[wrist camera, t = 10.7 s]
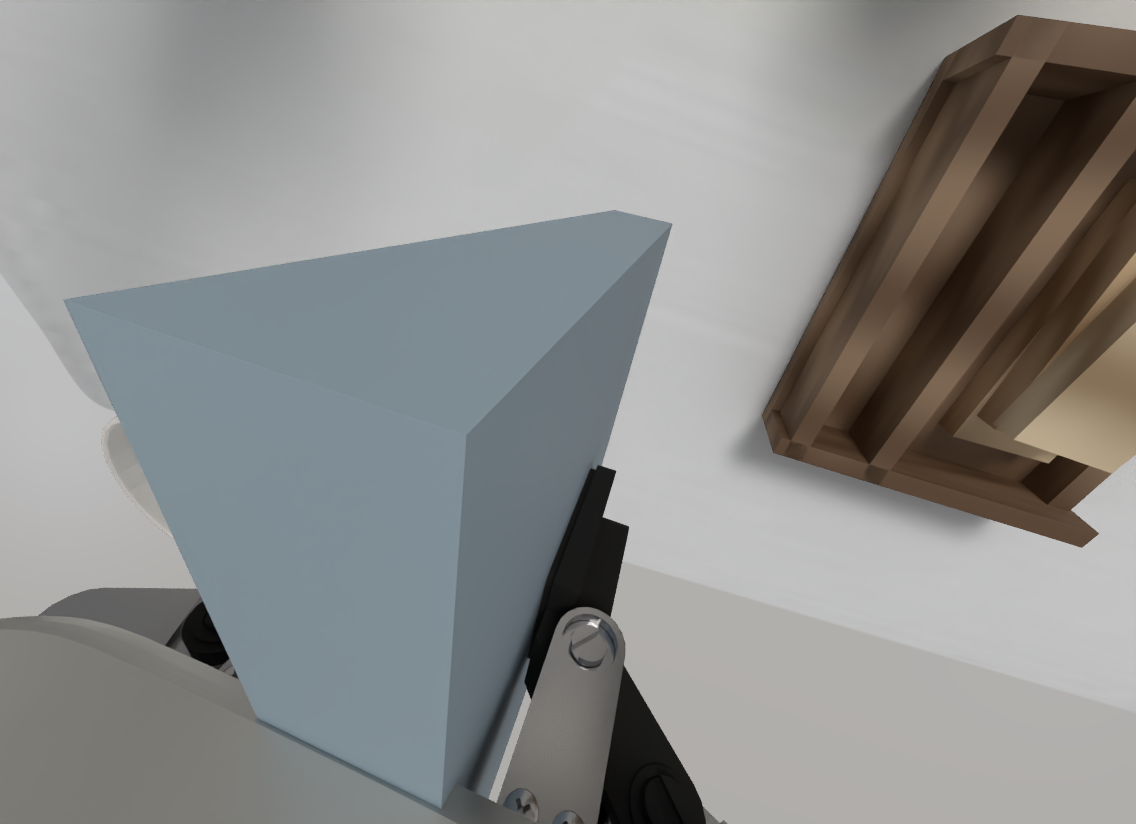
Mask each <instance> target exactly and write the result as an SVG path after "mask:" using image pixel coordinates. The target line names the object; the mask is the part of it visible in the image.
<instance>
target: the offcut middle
mask: <svg viewBox="0 0 1136 824" xmlns="http://www.w3.org/2000/svg"><path fill="white" fill-rule="evenodd" d="M1135 278H1136V203H1135V205H1134V206H1133V207H1132V209H1131V210H1130V211H1129V213H1128V214H1127V215H1126V217H1125V218H1124V219H1123V221H1122V222H1121V223H1120V225H1119V226H1118V227H1117V229H1116V230H1115V231H1114V233H1113V234H1112V235H1111V237H1110V238H1109V239H1108V241H1107V242H1106V243H1105V245H1104V246H1103V247H1102V249H1101V250H1100V251H1099V253H1098V254H1097V255H1096V257H1095V258H1094V259H1093V261H1092V262H1091V263H1090V265H1089V266H1088V267H1087V269H1086V270H1085V271H1084V273H1083V274H1082V275H1081V277H1080V278H1079V279H1078V281H1077V282H1076V283H1075V285H1074V286H1073V287H1072V289H1071V290H1070V291H1069V293H1068V294H1067V295H1066V297H1065V298H1064V299H1063V301H1062V302H1061V303H1060V305H1059V306H1058V307H1057V309H1056V310H1055V311H1054V313H1053V314H1052V315H1051V317H1050V318H1049V319H1048V321H1047V322H1046V324H1045V325H1044V326H1043V328H1042V329H1041V330H1040V332H1039V333H1038V334H1037V336H1036V337H1035V338H1034V340H1033V341H1032V342H1031V344H1030V345H1029V346H1028V348H1027V349H1026V350H1025V352H1024V353H1023V354H1022V356H1021V357H1020V358H1019V360H1018V361H1017V362H1016V364H1015V365H1014V366H1013V368H1012V369H1011V370H1010V372H1009V373H1008V374H1007V376H1006V377H1005V378H1004V380H1003V381H1002V382H1001V384H1000V385H999V386H998V388H997V389H996V390H995V392H994V393H993V394H992V396H991V397H990V398H989V400H988V401H987V402H986V404H985V405H984V406H983V408H982V409H981V410H980V412H979V413H978V414H977V416H978V417H979V418H980V419H982V420H983V421H984V422H986V423H987V424H988V425H989V426H991V427H992V428H993V429H995V430H998V431H1002V430H1000V429H999V428H998V427H996V426H995V425H994V424H992V423H993V422H994V421H995V420H996V419H997V418H998V417H999V416H1000V415H1001V414H1002V413H1003V412H1004V411H1005V410H1006V409H1007V408H1008V407H1009V406H1010V405H1011V404H1012V403H1013V402H1014V401H1015V400H1016V399H1017V398H1018V397H1019V396H1020V395H1021V394H1022V393H1023V392H1024V391H1025V390H1026V389H1027V388H1028V387H1029V386H1030V385H1031V384H1032V383H1033V382H1034V381H1035V380H1036V379H1037V378H1038V377H1039V376H1040V375H1041V374H1042V373H1043V372H1044V370H1045V369H1046V368H1047V367H1048V366H1049V365H1050V364H1051V363H1052V362H1053V361H1054V360H1055V359H1056V358H1057V357H1058V356H1059V355H1060V354H1061V353H1062V352H1063V351H1064V350H1065V349H1066V348H1067V347H1068V346H1069V345H1070V344H1071V343H1072V342H1073V341H1074V340H1075V339H1076V338H1077V337H1078V336H1079V335H1080V334H1081V333H1082V332H1083V331H1084V330H1085V329H1086V328H1087V327H1088V326H1089V325H1090V324H1091V323H1092V322H1093V321H1094V320H1095V319H1096V318H1097V317H1098V315H1099V314H1100V313H1101V312H1102V311H1103V310H1104V309H1105V308H1106V307H1107V306H1108V305H1109V304H1110V303H1111V302H1112V301H1113V300H1114V299H1115V298H1116V297H1117V296H1118V295H1119V294H1120V293H1121V292H1122V291H1123V290H1124V289H1125V288H1126V287H1127V286H1128V285H1129V284H1130V283H1131V282H1132V281H1133V280H1134V279H1135ZM1002 432H1003V431H1002Z"/></svg>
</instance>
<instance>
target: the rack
mask: <svg viewBox="0 0 1136 824" xmlns="http://www.w3.org/2000/svg"><path fill="white" fill-rule="evenodd" d="M1129 178H1136V31H1133V30H1126V29H1118V28H1111V27H1104V26H1096V25H1089V24H1082V23H1074V22H1067V21H1059V20H1052V19H1045V18H1037V17H1030V16H1022V15H1017V16H1015V17H1013V18H1012V19H1010V20H1008V21H1007V22H1005V23H1003V24H1001V25H1000V26H998V27H996V28H995V29H993V30H991V31H989V32H988V33H986V34H984V35H983V36H981V37H979V38H977V39H976V40H974V41H972V42H971V43H969V44H967V45H965V46H964V47H962V48H960V49H959V50H957V51H955V52H953V53H952V54H950V55H948V56H947V57H945V59H944V61H943V63H942V65H941V67H940V69H939V71H938V73H937V75H936V77H935V79H934V81H933V83H932V85H931V87H930V89H929V91H928V93H927V95H926V96H925V98H924V100H923V102H922V104H921V106H920V108H919V110H918V112H917V114H916V116H915V118H914V120H913V122H912V124H911V126H910V128H909V130H908V132H907V134H906V136H905V138H904V139H903V141H902V143H901V145H900V147H899V149H898V151H897V153H896V155H895V157H894V159H893V161H892V163H891V165H890V167H889V169H888V171H887V173H886V175H885V177H884V179H883V181H882V182H881V184H880V186H879V188H878V190H877V192H876V194H875V196H874V198H873V200H872V202H871V204H870V206H869V208H868V210H867V212H866V214H865V216H864V218H863V220H862V222H861V224H860V225H859V227H858V229H857V231H856V233H855V235H854V237H853V239H852V241H851V243H850V245H849V247H848V249H847V251H846V253H845V255H844V257H843V259H842V261H841V263H840V265H839V267H838V268H837V270H836V272H835V274H834V276H833V278H832V280H831V282H830V284H829V286H828V288H827V290H826V292H825V294H824V296H823V298H822V300H821V302H820V304H819V306H818V308H817V310H816V311H815V313H814V315H813V317H812V319H811V321H810V323H809V325H808V327H807V329H806V331H805V333H804V335H803V337H802V339H801V341H800V343H799V345H798V347H797V349H796V351H795V353H794V354H793V356H792V358H791V360H790V362H789V364H788V366H787V368H786V370H785V372H784V374H783V376H782V378H781V380H780V382H779V384H778V386H777V388H776V390H775V392H774V394H773V396H772V397H771V399H770V401H769V403H768V405H767V407H766V409H765V411H764V413H763V415H762V417H763V420H764V423H765V427H766V430H767V434H768V437H769V440H770V444H771V447H772V450H773V453H776V454H779V455H782V456H786V457H789V458H792V459H795V460H799V461H802V462H805V463H808V464H812V465H815V466H818V467H821V468H825V469H828V470H831V471H834V472H838V473H841V474H844V475H847V476H851V477H854V478H857V479H860V480H864V481H867V482H870V483H873V484H877V485H880V486H883V487H886V488H890V489H893V490H896V491H899V492H903V493H906V494H909V495H912V496H916V497H919V498H922V499H925V500H929V501H932V502H935V503H938V504H942V505H945V506H948V507H952V508H955V509H958V510H961V511H965V512H968V513H971V514H974V515H978V516H981V517H984V518H987V519H991V520H994V521H997V522H1000V523H1004V524H1007V525H1010V526H1013V527H1017V528H1020V529H1023V530H1026V531H1030V532H1033V533H1036V534H1039V535H1043V536H1046V537H1049V538H1052V539H1056V540H1059V541H1062V542H1065V543H1069V544H1072V545H1075V546H1078V547H1083V546H1085V545H1086V544H1087V543H1088V542H1089V541H1091V540H1092V539H1093V538H1094V537H1096V536H1097V535H1098V534H1099V533H1098V532H1097V531H1095V530H1094V529H1093V528H1092V527H1091V526H1089V525H1088V524H1087V523H1086V522H1085V521H1083V520H1082V519H1081V518H1080V517H1079V516H1077V515H1076V514H1075V513H1074V512H1072V511H1071V509H1072V508H1073V507H1075V506H1076V505H1077V504H1078V503H1079V502H1080V501H1081V500H1082V499H1084V498H1085V497H1086V496H1087V495H1088V494H1089V493H1090V492H1091V491H1093V490H1094V489H1095V488H1096V487H1097V486H1098V485H1099V484H1101V483H1102V482H1103V481H1104V480H1105V479H1106V478H1107V477H1108V476H1110V475H1111V474H1112V473H1109V472H1106V471H1103V470H1100V469H1097V468H1095V467H1092V466H1089V465H1086V464H1083V463H1080V462H1077V461H1074V460H1071V459H1069V458H1066V457H1063V456H1060V455H1057V456H1056V457H1055V458H1054V459H1053V460H1052V461H1051V462H1050V463H1045V462H1042V461H1038V460H1035V459H1031V458H1027V457H1024V456H1020V455H1017V454H1013V453H1010V452H1006V451H1003V450H999V449H996V448H992V447H989V446H985V445H982V444H978V443H974V442H971V441H967V440H964V439H960V438H957V437H953V436H952V435H951V434H950V433H948V432H947V431H946V430H945V429H944V428H943V427H942V426H941V425H940V424H939V423H938V422H939V421H940V420H941V419H942V417H943V416H944V415H945V414H946V412H947V411H948V410H949V408H950V407H951V406H952V405H953V403H954V402H955V401H956V399H957V398H958V397H959V396H960V394H961V393H962V392H963V390H964V389H965V388H966V387H967V385H968V384H969V383H970V382H971V380H972V379H973V378H974V376H975V375H976V374H977V373H978V371H979V370H980V369H981V367H982V366H983V365H984V364H985V362H986V361H987V360H988V359H989V357H990V356H991V355H992V353H993V352H994V351H995V350H996V348H997V347H998V346H999V344H1000V343H1001V342H1002V341H1003V339H1004V338H1005V337H1006V335H1007V334H1008V333H1009V332H1010V330H1011V329H1012V328H1013V327H1014V325H1015V324H1016V323H1017V321H1018V320H1019V319H1020V318H1021V316H1022V315H1023V314H1024V312H1025V311H1026V310H1027V309H1028V307H1029V306H1030V305H1031V304H1032V302H1033V301H1034V300H1035V298H1036V297H1037V296H1038V295H1039V293H1040V292H1041V291H1042V289H1043V288H1044V287H1045V286H1046V284H1047V283H1048V282H1049V280H1050V279H1051V278H1052V277H1053V275H1054V274H1055V273H1056V272H1057V270H1058V269H1059V268H1060V266H1061V265H1062V264H1063V263H1064V261H1065V260H1066V259H1067V257H1068V256H1069V255H1070V254H1071V252H1072V251H1073V250H1074V248H1075V247H1076V246H1077V245H1078V243H1079V242H1080V241H1081V240H1082V238H1083V237H1084V236H1085V234H1086V233H1087V232H1088V231H1089V229H1090V228H1091V227H1092V225H1093V224H1094V223H1095V222H1096V220H1097V219H1098V218H1099V217H1100V215H1101V214H1102V213H1103V211H1104V210H1105V209H1106V208H1107V206H1108V205H1109V204H1110V202H1111V201H1112V200H1113V199H1114V197H1115V196H1116V195H1117V193H1118V192H1119V191H1120V190H1121V188H1122V187H1123V186H1124V185H1125V183H1126V182H1127V181H1128V179H1129Z"/></svg>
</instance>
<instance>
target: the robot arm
mask: <svg viewBox="0 0 1136 824" xmlns="http://www.w3.org/2000/svg"><path fill="white" fill-rule="evenodd" d="M615 474H616V471H615V470H612V469H609V468H606V467H603V466H600V465H597V468H596V470H595V469H592V468H591V469H590V471H589V473H588V476H587V478H586V481H585V483H584V486H583V488H582V491H581V493H580V496H579V498H578V501H577V503H576V506H575V508H574V511H573V513H572V516H571V518H570V521H569V523H568V526H567V528H566V531H565V534H564V536H563V539H562V541H561V544H560V546H559V549H558V551H557V554H556V556H555V559H554V561H553V564H552V566H551V569H550V571H549V574H548V577H547V580H546V583H545V587H544V591H543V595H542V599H541V603H540V607H539V611H538V615H537V619H536V623H535V627H534V631H533V635H532V639H531V643H530V647H529V651H528V655H527V658H529V659H530V661H529V665H528V669H527V673H526V676H525V680H524V683H525V685H526V688H527V690H528V693H529V695H530V698H531V703H530V706H529V709H528V712H527V715H526V718H525V721H524V724H523V726H522V729H521V732H520V735H519V738H518V741H517V744H516V747H515V750H514V753H513V756H512V759H511V762H510V765H509V768H508V771H507V774H506V777H505V780H504V783H503V785H502V788H501V792H500V795H499V797H498V800H497V803H495V802H493V801H491V800H489V799H487V798H485V797H483V796H481V795H479V794H477V793H475V792H473V791H471V790H468V789H466V788H464V787H462V786H460V785H458V784H455V786H454V788H453V789H452V791H451V793H450V795H449V796H448V798H447V800H446V801H445V803H444V805H443V807H442V809H440V808H438V807H436V806H434V805H432V804H430V803H428V802H426V801H424V800H422V799H420V798H418V797H416V796H414V795H411V794H409V793H407V792H405V791H403V790H401V789H399V788H397V787H395V786H393V785H391V784H389V783H387V782H385V781H383V780H381V779H379V778H377V777H375V776H373V775H371V774H369V773H367V772H365V771H363V770H361V769H359V768H357V767H355V766H353V765H351V764H349V763H347V762H345V761H343V760H341V759H339V758H336V757H334V756H332V755H330V754H328V753H326V752H324V751H322V750H320V749H318V748H316V747H314V746H312V745H310V744H308V743H306V742H304V741H302V740H300V739H298V738H296V737H294V736H292V735H290V734H288V733H286V732H284V731H282V730H280V729H278V728H276V727H274V726H272V725H269V724H267V723H265V722H263V721H261V720H259V719H257V716H256V714H255V712H254V710H253V708H252V706H251V703H250V701H249V699H248V697H247V695H246V693H245V691H244V688H243V686H242V684H241V682H240V680H239V678H238V675H237V673H236V671H235V669H234V667H233V665H232V662H231V660H230V658H229V656H228V654H227V652H226V650H225V647H224V645H223V643H222V641H221V639H220V637H219V634H218V632H217V630H216V628H215V626H214V624H213V622H212V619H211V617H210V615H209V613H208V611H207V609H206V606H205V604H204V602H203V600H202V598H201V596H200V593H199V591H198V589H166V588H165V589H164V588H161V589H160V588H158V589H157V588H99V589H90V590H86V591H83V592H80V593H77V594H74V595H71V596H68V597H67V598H65V599H63V600H61V601H59V602H57V603H55V604H53V605H51V606H50V607H49V608H47V609H46V610H45V611H44V612H42V613H41V614H40V615H39V616H28V617H12V618H2V619H0V824H727V823H726V822H725V821H722V822H721V823H719V822H718V821H717V820H716V819H715V818H714V817H713V816H712V815H711V814H710V813H709V812H708V811H707V810H706V809H705V808H704V807H703V806H702V802H701V799H700V797H699V795H698V793H697V791H696V788H695V786H694V784H693V783H692V781H691V779H690V777H689V776H688V774H687V773H686V771H685V769H684V767H683V765H682V764H681V762H680V760H679V759H678V757H677V755H676V754H675V752H674V750H673V748H672V747H671V745H670V743H669V742H668V740H667V738H666V736H665V735H664V733H663V731H662V730H661V728H660V726H659V725H658V723H657V721H656V719H655V718H654V716H653V714H652V713H651V711H650V709H649V708H648V706H647V704H646V702H645V701H644V699H643V697H642V696H641V694H640V692H639V690H638V689H637V687H636V685H635V684H634V682H633V680H632V678H631V677H630V675H629V674H628V672H627V670H626V668H625V667H624V659H625V641H624V638H623V634H622V632H621V630H620V629H619V627H618V625H617V624H616V622H615V621H614V620H613V619H612V618H610V617H611V612H612V607H613V602H614V598H615V593H616V588H617V583H618V579H619V574H620V569H621V564H622V560H623V555H624V550H625V545H626V541H627V536H628V531H629V526H626V525H623V524H620V523H617V522H615V521H612V520H609V519H606V518H603V514H604V510H605V507H606V504H607V500H608V497H609V494H610V490H611V487H612V484H613V480H614V477H615Z"/></svg>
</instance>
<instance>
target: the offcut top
mask: <svg viewBox="0 0 1136 824" xmlns="http://www.w3.org/2000/svg"><path fill="white" fill-rule="evenodd" d="M992 424H994V425H995V426H996V427H998V428H999V429H1000V430H1002V431H1003V432H1004V433H1006V434H1007V435H1008V436H1010V437H1011V438H1012V439H1014V440H1016V441H1019V442H1022V443H1025V444H1028V445H1031V446H1034V447H1037V448H1040V449H1042V450H1045V451H1048V452H1051V453H1054V454H1057V455H1060V456H1063V457H1066V458H1069V459H1071V460H1074V461H1077V462H1080V463H1083V464H1086V465H1089V466H1092V467H1095V468H1097V469H1100V470H1103V471H1106V472H1109V473H1113V472H1114V471H1115V470H1117V469H1118V468H1119V467H1120V466H1122V465H1123V464H1124V463H1126V462H1127V461H1128V460H1129V459H1131V458H1132V457H1133V456H1134V455H1136V278H1135V279H1134V280H1133V281H1132V282H1131V283H1130V284H1129V285H1128V286H1127V287H1126V288H1125V289H1124V290H1123V291H1122V292H1121V293H1120V294H1119V295H1118V296H1117V297H1116V298H1115V299H1114V300H1113V301H1112V302H1111V303H1110V304H1109V305H1108V306H1107V307H1106V308H1105V309H1104V310H1103V311H1102V312H1101V313H1100V314H1099V315H1098V317H1097V318H1096V319H1095V320H1094V321H1093V322H1092V323H1091V324H1090V325H1089V326H1088V327H1087V328H1086V329H1085V330H1084V331H1083V332H1082V333H1081V334H1080V335H1079V336H1078V337H1077V338H1076V339H1075V340H1074V341H1073V342H1072V343H1071V344H1070V345H1069V346H1068V347H1067V348H1066V349H1065V350H1064V351H1063V352H1062V353H1061V354H1060V355H1059V356H1058V357H1057V358H1056V359H1055V360H1054V361H1053V362H1052V363H1051V364H1050V365H1049V366H1048V367H1047V368H1046V369H1045V370H1044V372H1043V373H1042V374H1041V375H1040V376H1039V377H1038V378H1037V379H1036V380H1035V381H1034V382H1033V383H1032V384H1031V385H1030V386H1029V387H1028V388H1027V389H1026V390H1025V391H1024V392H1023V393H1022V394H1021V395H1020V396H1019V397H1018V398H1017V399H1016V400H1015V401H1014V402H1013V403H1012V404H1011V405H1010V406H1009V407H1008V408H1007V409H1006V410H1005V411H1004V412H1003V413H1002V414H1001V415H1000V416H999V417H998V418H997V419H996V420H995V421H994V422H993V423H992Z"/></svg>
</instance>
